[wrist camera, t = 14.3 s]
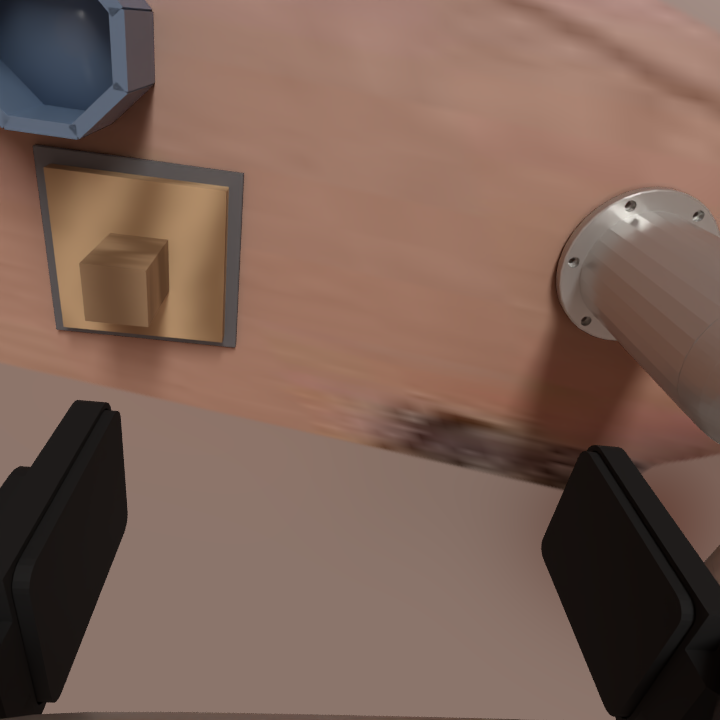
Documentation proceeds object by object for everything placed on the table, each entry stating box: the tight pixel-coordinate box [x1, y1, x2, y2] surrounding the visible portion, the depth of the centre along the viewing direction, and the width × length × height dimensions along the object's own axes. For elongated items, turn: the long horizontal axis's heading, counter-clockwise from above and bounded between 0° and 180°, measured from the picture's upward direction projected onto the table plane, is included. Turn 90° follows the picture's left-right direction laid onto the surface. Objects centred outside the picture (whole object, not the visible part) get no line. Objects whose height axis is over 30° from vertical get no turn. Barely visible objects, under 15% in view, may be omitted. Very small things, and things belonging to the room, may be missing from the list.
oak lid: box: [43, 164, 229, 343], centre depth 40 cm, size 12×12×7 cm
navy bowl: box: [0, 0, 155, 140], centre depth 33 cm, size 10×10×6 cm
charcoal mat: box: [33, 144, 244, 347], centre depth 43 cm, size 14×14×1 cm
